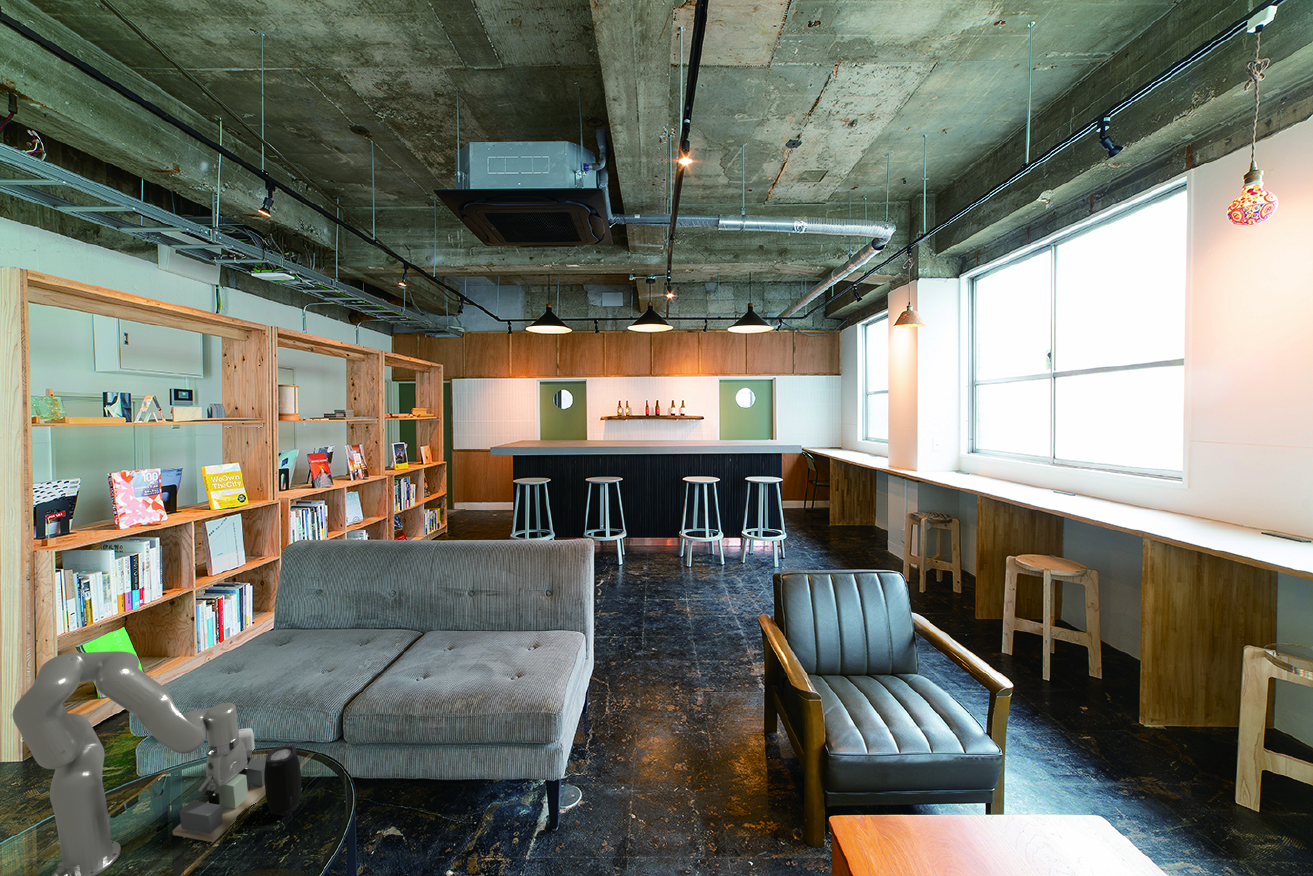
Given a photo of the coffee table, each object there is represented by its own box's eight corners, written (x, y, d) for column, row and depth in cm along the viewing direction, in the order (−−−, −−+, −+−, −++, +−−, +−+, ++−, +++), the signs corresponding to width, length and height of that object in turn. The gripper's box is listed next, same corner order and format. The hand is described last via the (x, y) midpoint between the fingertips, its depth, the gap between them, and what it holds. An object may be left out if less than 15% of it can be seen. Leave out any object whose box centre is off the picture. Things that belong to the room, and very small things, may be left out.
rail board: (213, 842, 159) (211, 820, 158) (172, 834, 161) (170, 812, 160) (280, 780, 183) (279, 760, 182) (244, 774, 185) (243, 754, 184)
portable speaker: (267, 805, 173) (262, 750, 170) (301, 792, 178) (297, 739, 175) (267, 824, 166) (262, 767, 163) (303, 810, 171) (299, 754, 168)
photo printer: (256, 754, 194) (253, 722, 193) (255, 761, 191) (252, 729, 189) (219, 765, 189) (216, 733, 187) (218, 773, 185) (214, 740, 183)
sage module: (235, 808, 169) (233, 786, 168) (210, 804, 170) (208, 782, 169) (248, 797, 173) (246, 775, 172) (223, 793, 175) (221, 771, 173)
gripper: (207, 765, 160) (213, 816, 162) (258, 726, 177) (262, 773, 179) (186, 762, 161) (191, 813, 163) (238, 724, 178) (243, 770, 180)
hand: (228, 792), depth 171 cm, fingers open, 9 cm apart
